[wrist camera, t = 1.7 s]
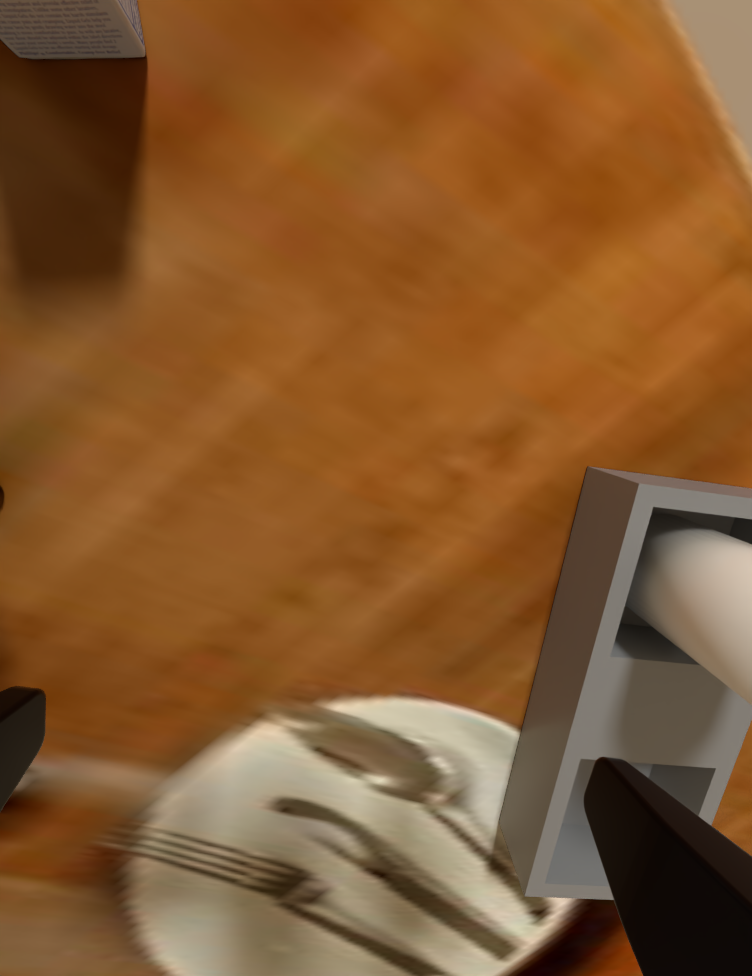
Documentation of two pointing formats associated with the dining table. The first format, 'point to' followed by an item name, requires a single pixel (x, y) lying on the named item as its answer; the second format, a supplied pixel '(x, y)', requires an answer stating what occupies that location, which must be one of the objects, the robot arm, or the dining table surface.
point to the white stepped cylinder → (698, 595)
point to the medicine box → (72, 28)
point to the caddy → (617, 686)
